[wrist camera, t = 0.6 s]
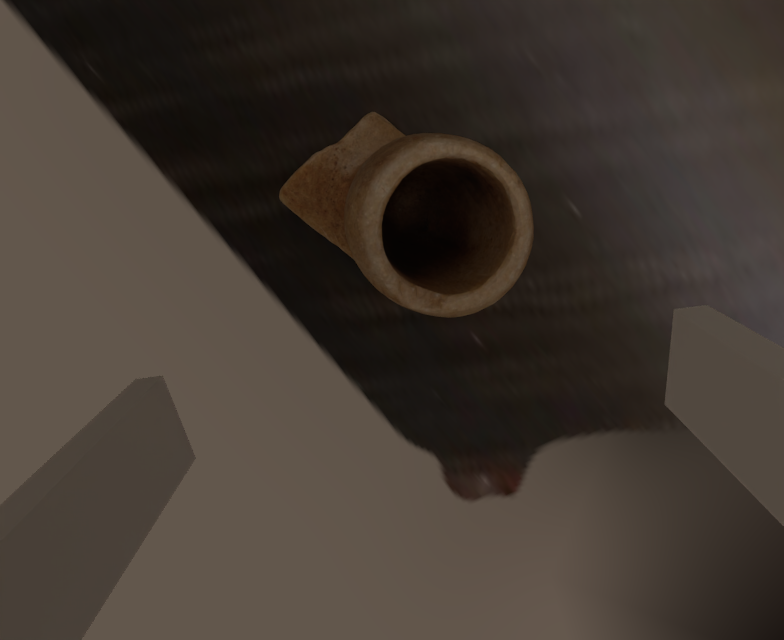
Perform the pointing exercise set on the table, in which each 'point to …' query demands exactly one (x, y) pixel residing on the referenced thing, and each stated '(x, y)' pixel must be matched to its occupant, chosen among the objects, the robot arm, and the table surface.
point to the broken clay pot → (419, 215)
